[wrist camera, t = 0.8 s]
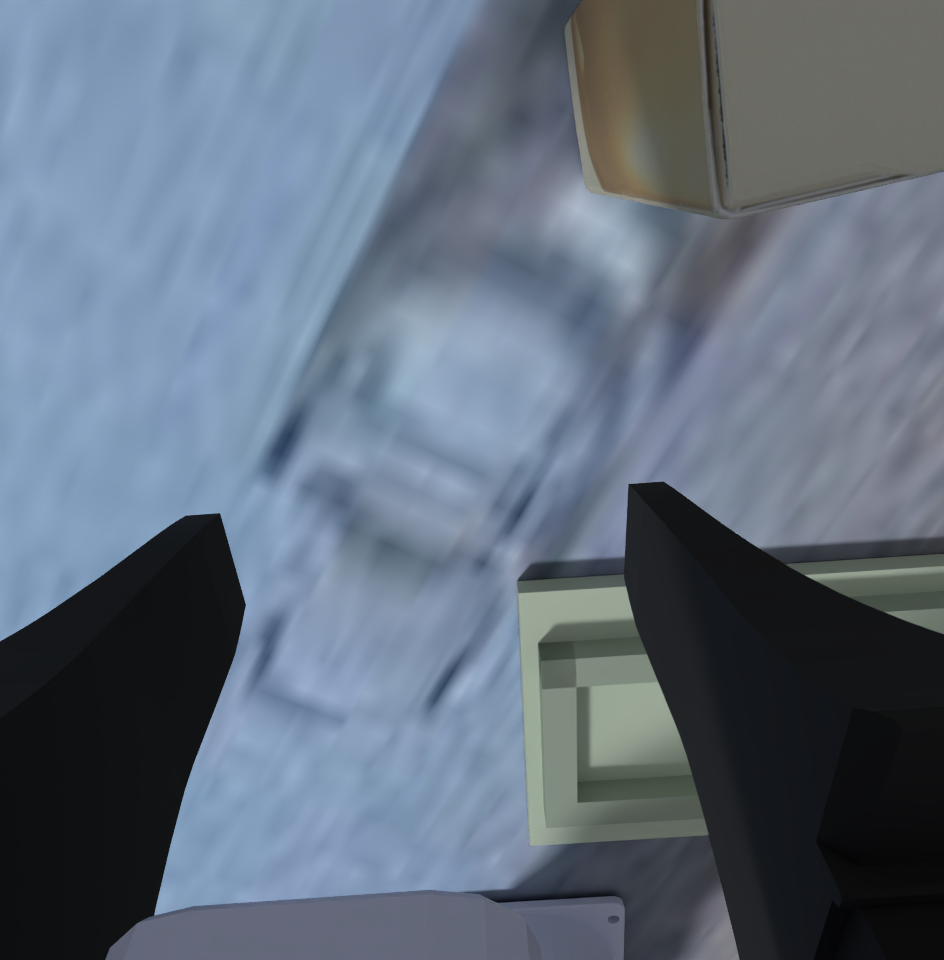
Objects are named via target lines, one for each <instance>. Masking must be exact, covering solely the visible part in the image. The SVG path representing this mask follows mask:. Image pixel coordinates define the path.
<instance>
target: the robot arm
mask: <svg viewBox="0 0 944 960" xmlns="http://www.w3.org/2000/svg"><path fill="white" fill-rule="evenodd" d="M624 581H625V585H626V589H627V593H628V597H629V601H630V606H631V609H632V613H633V617H634V621H635V625H636V628H637V630H638V633H639V635H640V638H641V640H642V643H643V646H644V648H645V651H646V653H647V656H648V658H649V661H650V663H651V666H652V668H653V671H654V673H655V675H656V678H657V680H658V683H659V685H660V688H661V690H662V693H663V695H664V698H665V700H666V703H667V705H668V707H669V710H670V712H671V715H672V717H673V720H674V722H675V725H676V727H677V730H678V732H679V735H680V738H681V741H682V744H683V747H684V749H685V752H686V755H687V759H688V762H689V766H690V769H691V773H692V776H693V780H694V783H695V787H696V790H697V794H698V797H699V801H700V804H701V808H702V811H703V815H704V819H705V823H706V827H707V830H708V834H709V838H710V842H711V845H712V849H713V853H714V857H715V860H716V864H717V868H718V872H719V876H720V880H721V884H722V888H723V892H724V896H725V900H726V904H727V908H728V912H729V916H730V920H731V925H732V929H733V933H734V937H735V941H736V945H737V950H738V954H739V958H740V960H944V634H942V633H939V632H936V631H933V630H930V629H927V628H924V627H922V626H919V625H916V624H913V623H911V622H908V621H905V620H902V619H900V618H898V617H895V616H893V615H890V614H888V613H885V612H883V611H880V610H878V609H875V608H873V607H871V606H868V605H866V604H863V603H861V602H859V601H857V600H854V599H852V598H850V597H848V596H845V595H843V594H841V593H839V592H837V591H835V590H833V589H831V588H829V587H827V586H825V585H823V584H821V583H819V582H817V581H815V580H813V579H811V578H809V577H807V576H805V575H803V574H801V573H800V572H798V571H796V570H794V569H792V568H791V567H789V566H787V565H785V564H784V563H782V562H780V561H779V560H777V559H775V558H774V557H772V556H770V555H769V554H767V553H766V552H764V551H762V550H761V549H759V548H757V547H756V546H754V545H753V544H751V543H750V542H748V541H747V540H745V539H744V538H742V537H741V536H739V535H738V534H736V533H735V532H733V531H732V530H730V529H729V528H727V527H726V526H725V525H723V524H722V523H720V522H719V521H717V520H716V519H715V518H713V517H712V516H711V515H709V514H708V513H706V512H705V511H704V510H702V509H701V508H700V507H698V506H697V505H696V504H694V503H693V502H691V501H690V500H689V499H687V498H686V497H685V496H683V495H682V494H681V493H679V492H678V491H676V490H675V489H674V488H672V487H671V486H669V485H668V484H666V483H665V482H652V483H638V484H629V487H628V507H627V527H626V547H625V567H624ZM245 606H246V604H245V601H244V597H243V594H242V590H241V586H240V583H239V579H238V576H237V572H236V569H235V565H234V562H233V558H232V554H231V551H230V547H229V544H228V540H227V537H226V533H225V529H224V526H223V522H222V519H221V515H220V513H218V514H204V515H190V516H185V517H183V518H181V519H180V520H178V521H176V522H175V523H173V524H172V525H170V526H169V527H167V528H166V529H165V530H163V531H162V532H160V533H159V534H158V535H156V536H155V537H154V538H152V539H151V540H149V541H148V542H147V543H145V544H144V545H143V546H141V547H140V548H139V549H137V550H136V551H135V552H133V553H132V554H131V555H129V556H128V557H127V558H125V559H124V560H123V561H121V562H120V563H118V564H117V565H116V566H114V567H113V568H112V569H110V570H109V571H108V572H106V573H105V574H104V575H102V576H101V577H100V578H98V579H97V580H95V581H94V582H92V583H91V584H89V585H88V586H86V587H85V588H84V589H82V590H81V591H79V592H78V593H76V594H75V595H73V596H72V597H70V598H69V599H67V600H66V601H65V602H63V603H62V604H60V605H59V606H57V607H56V608H54V609H53V610H51V611H50V612H48V613H47V614H45V615H44V616H42V617H41V618H39V619H37V620H36V621H34V622H33V623H31V624H29V625H28V626H26V627H24V628H23V629H21V630H19V631H18V632H16V633H14V634H13V635H11V636H9V637H7V638H6V639H4V640H2V641H0V960H624V928H625V908H624V903H623V900H622V899H621V898H619V897H616V896H605V897H588V898H571V899H554V900H538V901H521V902H504V903H496V902H494V901H492V900H490V899H488V898H486V897H484V896H482V895H480V894H471V893H459V892H447V891H436V890H422V891H408V892H393V893H379V894H364V895H350V896H335V897H321V898H306V899H292V900H277V901H263V902H248V903H234V904H220V905H205V906H193V907H189V908H185V909H181V910H176V911H172V912H168V913H164V914H160V915H156V916H154V913H155V908H156V904H157V899H158V895H159V891H160V887H161V882H162V878H163V874H164V870H165V865H166V861H167V857H168V853H169V848H170V844H171V840H172V837H173V833H174V829H175V825H176V821H177V818H178V814H179V810H180V806H181V802H182V798H183V795H184V791H185V788H186V785H187V782H188V779H189V776H190V773H191V770H192V767H193V764H194V761H195V759H196V756H197V753H198V751H199V748H200V746H201V743H202V740H203V738H204V735H205V733H206V730H207V727H208V725H209V722H210V720H211V717H212V714H213V712H214V709H215V707H216V704H217V701H218V699H219V696H220V694H221V691H222V688H223V686H224V683H225V680H226V677H227V675H228V672H229V669H230V667H231V664H232V661H233V658H234V656H235V652H236V648H237V644H238V639H239V635H240V631H241V626H242V621H243V616H244V611H245Z"/></svg>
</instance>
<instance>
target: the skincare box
mask: <svg viewBox="0 0 944 960" xmlns="http://www.w3.org/2000/svg"><path fill="white" fill-rule="evenodd" d="M564 34H565V42H566V50H567V59H568V69H569V77H570V84H571V92H572V100H573V108H574V115H575V123H576V130H577V137H578V143H579V150H580V156H581V163H582V170H583V176H584V182H585V186H586V188H587V190H588V191H589V192H591V193H595V194H600V195H606V196H611V197H616V198H621V199H626V200H631V201H636V202H641V203H645V204H650V205H655V206H660V207H666V208H671V209H676V210H681V211H686V212H690V213H695V214H700V215H705V216H710V217H714V218H719V219H738V218H742V217H745V216H750V215H754V214H758V213H763V212H767V211H772V210H777V209H781V208H786V207H791V206H795V205H800V204H804V203H809V202H813V201H817V200H822V199H826V198H830V197H835V196H839V195H843V194H848V193H853V192H857V191H862V190H866V189H871V188H875V187H879V186H883V185H886V184H891V183H896V182H900V181H905V180H910V179H914V178H918V177H923V176H927V175H931V174H935V173H939V172H944V0H582V1H581V2H580V4H579V5H578V7H577V8H576V10H575V12H574V13H573V15H572V16H571V17H570V19H569V21H568V22H567V24H566V25H565V31H564Z"/></svg>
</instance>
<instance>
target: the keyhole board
mask: <svg viewBox="0 0 944 960" xmlns="http://www.w3.org/2000/svg"><path fill="white" fill-rule="evenodd" d="M785 565H787V566H789V567H791V568H792V569H794V570H796V571H798V572H800V573H801V574H803V575H805V576H807V577H809V578H811V579H813V580H815V581H817V582H819V583H821V584H823V585H825V586H827V587H829V588H831V589H833V590H835V591H837V592H839V593H841V594H843V595H845V596H848V597H850V598H852V599H854V600H857V601H859V602H861V603H863V604H866V605H868V606H871V607H873V608H875V609H878V610H880V611H883V612H885V613H888V614H890V615H893V616H895V617H898V618H900V619H902V620H905V621H908V622H911V623H913V624H916V625H919V626H922V627H924V628H927V629H930V630H933V631H936V632H939V633H942V634H944V554H932V555H916V556H901V557H885V558H870V559H854V560H839V561H823V562H807V563H792V564H785ZM517 596H518V618H519V639H520V661H521V682H522V704H523V725H524V747H525V768H526V789H527V811H528V831H529V840H530V846H539V845H556V844H572V843H589V842H605V841H622V840H638V839H655V838H671V837H688V836H705V835H709V834H708V830H707V827H706V823H705V819H704V815H703V811H702V808H701V804H700V801H699V797H698V794H697V790H696V787H695V783H694V780H693V776H692V773H691V769H690V766H689V762H688V759H687V755H686V752H685V749H684V747H683V744H682V741H681V738H680V735H679V732H678V730H677V727H676V725H675V722H674V720H673V717H672V715H671V712H670V710H669V707H668V705H667V703H666V700H665V698H664V695H663V693H662V690H661V688H660V685H659V683H658V680H657V678H656V675H655V673H654V671H653V668H652V666H651V663H650V661H649V658H648V656H647V653H646V651H645V648H644V646H643V643H642V640H641V638H640V635H639V633H638V630H637V628H636V625H635V621H634V617H633V613H632V609H631V606H630V601H629V597H628V593H627V589H626V585H625V581H624V574H621V575H605V576H590V577H574V578H559V579H543V580H528V581H517Z"/></svg>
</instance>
